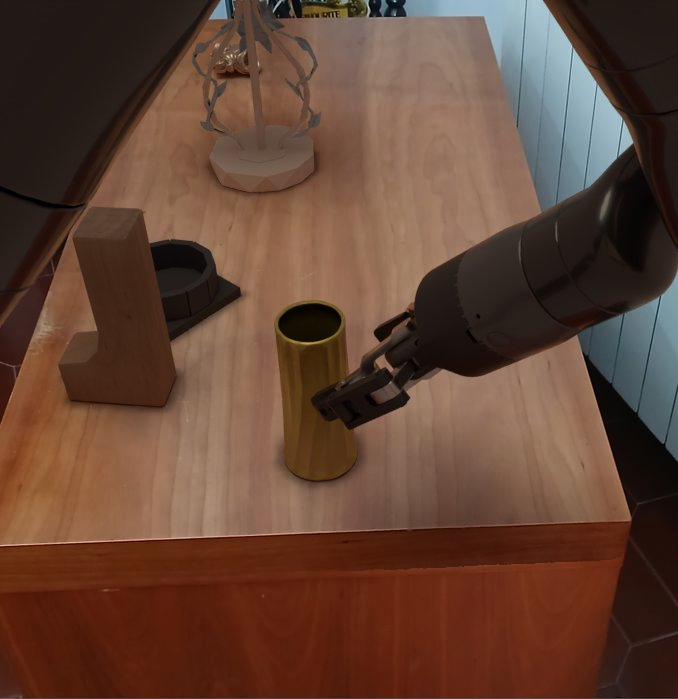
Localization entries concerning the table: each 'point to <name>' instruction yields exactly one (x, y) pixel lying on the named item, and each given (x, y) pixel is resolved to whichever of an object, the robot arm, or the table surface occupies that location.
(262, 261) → the table surface
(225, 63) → the ornament
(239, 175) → the table lamp
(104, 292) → the wooden block
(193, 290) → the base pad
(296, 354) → the vase
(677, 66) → the robot arm
